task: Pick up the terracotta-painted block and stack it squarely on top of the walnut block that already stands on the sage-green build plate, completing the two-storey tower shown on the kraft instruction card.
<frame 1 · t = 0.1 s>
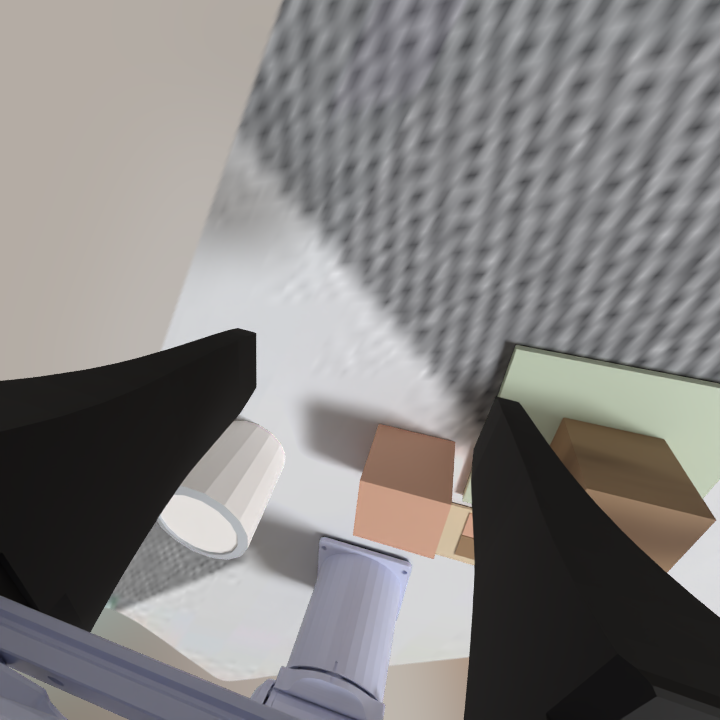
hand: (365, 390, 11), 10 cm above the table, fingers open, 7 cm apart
white cup: (253, 447, 29), on the table
walnut block: (593, 460, 21), resting on build plate
terracotta block: (410, 459, 26), on the table
instruction card: (477, 538, 28), on the table
build plate: (591, 454, 22), on the table
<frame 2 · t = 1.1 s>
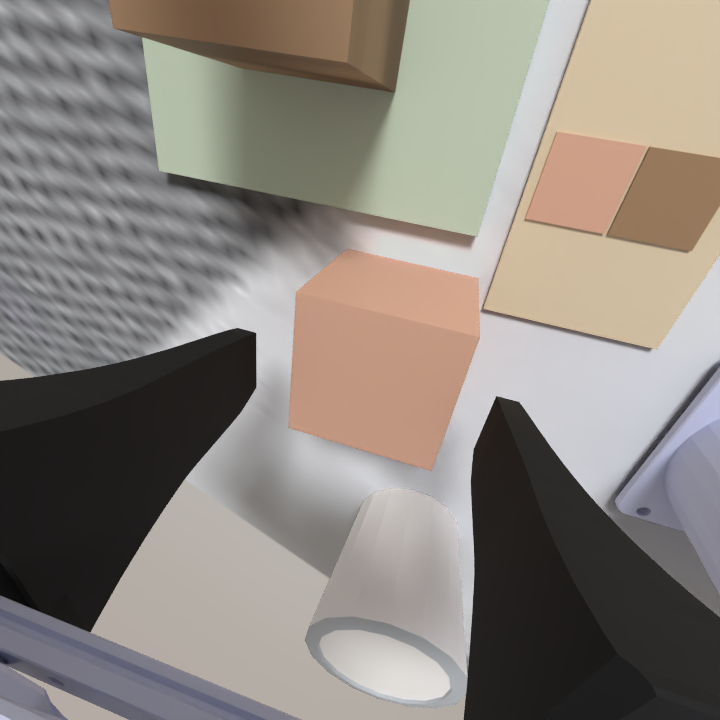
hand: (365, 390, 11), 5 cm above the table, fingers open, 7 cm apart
white cup: (408, 520, 21), on the table
terracotta block: (398, 321, 15), on the table
instruction card: (631, 193, 11), on the table
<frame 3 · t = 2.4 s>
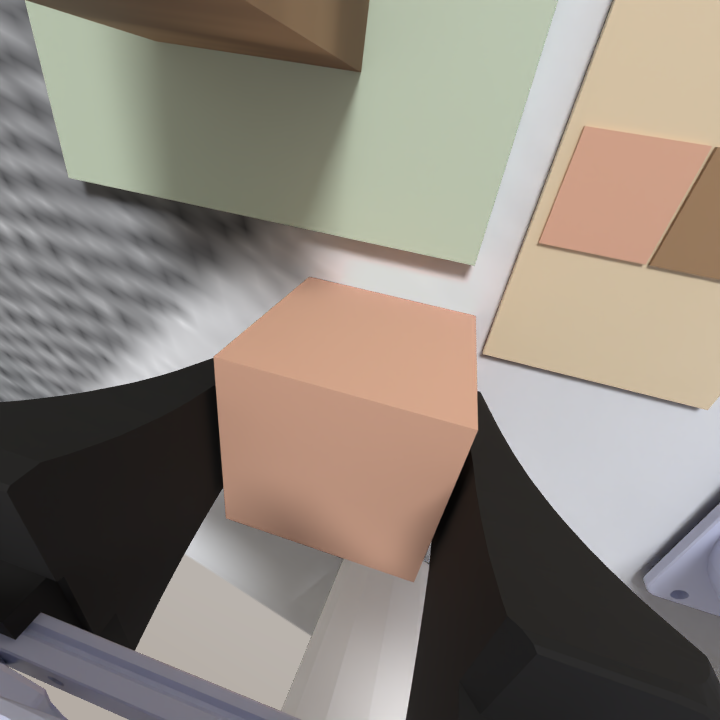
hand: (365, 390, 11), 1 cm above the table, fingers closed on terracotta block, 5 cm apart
white cup: (395, 581, 18), on the table
terracotta block: (375, 366, 12), on the table, touching gripper
instruction card: (684, 210, 8), on the table
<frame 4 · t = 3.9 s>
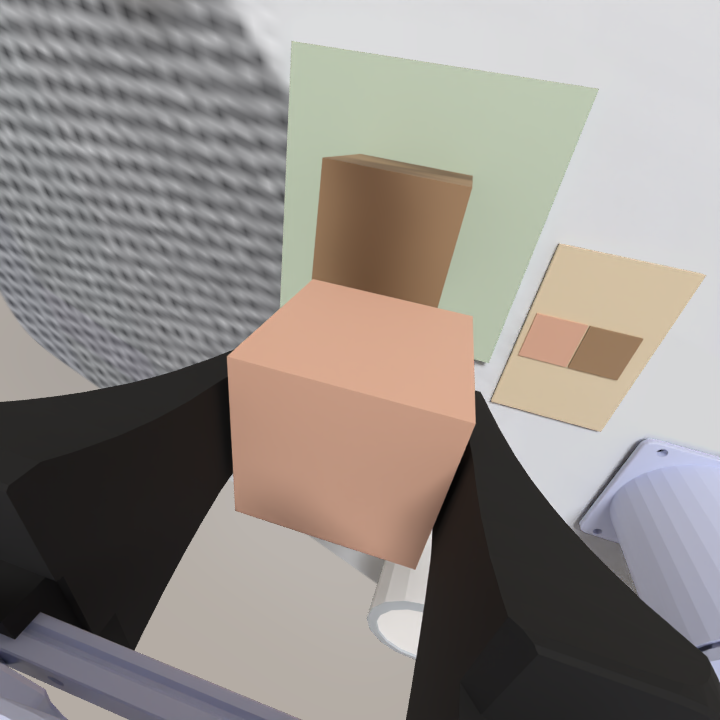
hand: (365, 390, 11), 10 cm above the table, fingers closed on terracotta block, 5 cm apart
white cup: (431, 533, 29), on the table
walnut block: (403, 223, 18), resting on build plate
terracotta block: (376, 365, 13), point 8 cm above the table, touching gripper
instruction card: (581, 346, 19), on the table
build plate: (404, 221, 18), on the table
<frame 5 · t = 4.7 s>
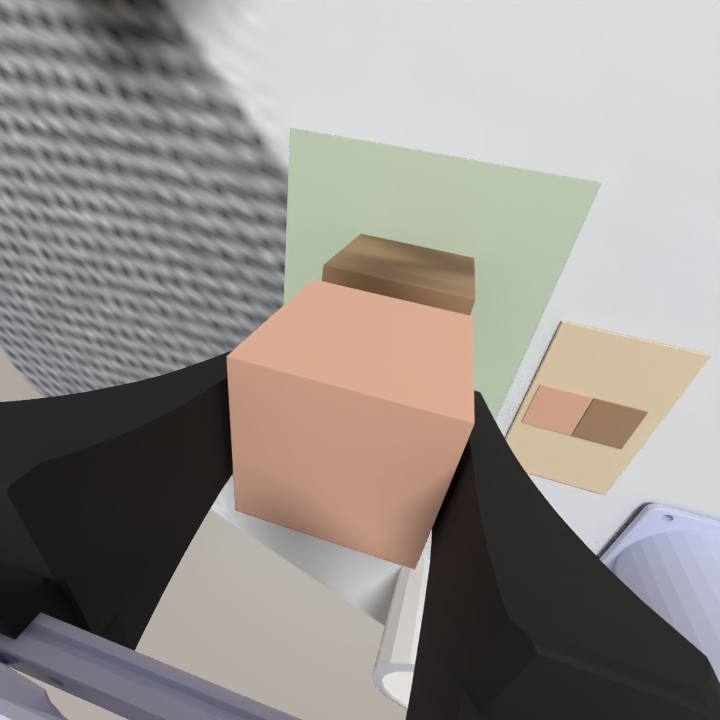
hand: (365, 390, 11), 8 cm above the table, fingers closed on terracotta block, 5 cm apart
white cup: (435, 580, 29), on the table
walnut block: (404, 298, 17), resting on build plate
terracotta block: (377, 365, 13), point 6 cm above the table, touching gripper
instruction card: (585, 415, 19), on the table
build plate: (406, 295, 18), on the table
when the fingers open (8 cm above the table, at t = 5.4 s): terracotta block stays where it is, resting on walnut block.
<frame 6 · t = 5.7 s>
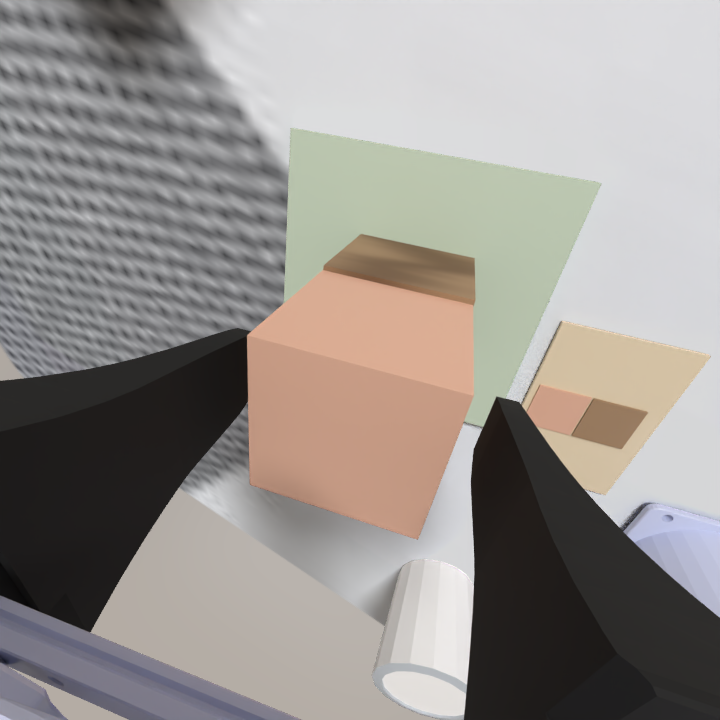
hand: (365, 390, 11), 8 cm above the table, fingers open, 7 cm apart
white cup: (435, 580, 29), on the table
walnut block: (404, 299, 17), resting on build plate, touching terracotta block
terracotta block: (382, 352, 13), point 5 cm above the table, touching walnut block
instruction card: (585, 415, 19), on the table
build plate: (406, 295, 18), on the table
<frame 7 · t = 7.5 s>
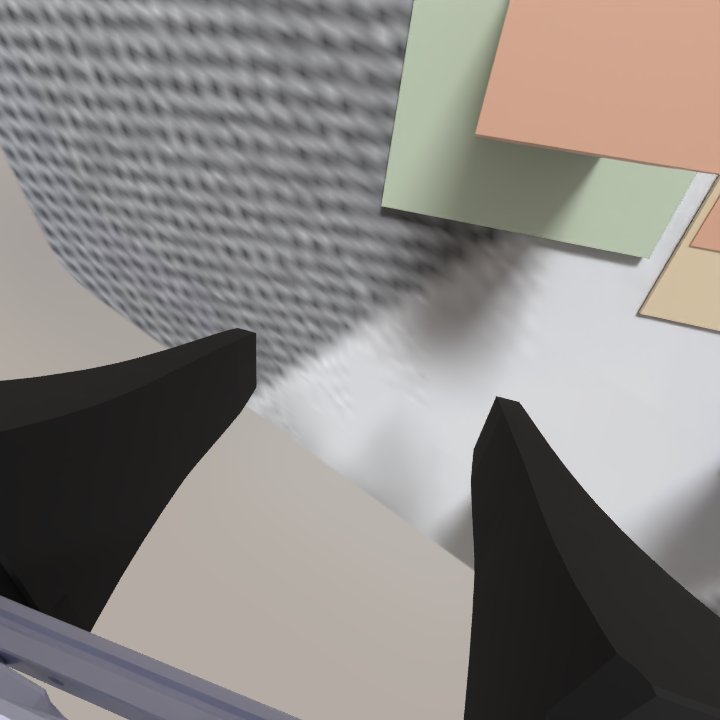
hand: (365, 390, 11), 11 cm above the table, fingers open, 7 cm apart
terracotta block: (599, 42, 10), point 5 cm above the table, touching walnut block
build plate: (561, 68, 14), on the table
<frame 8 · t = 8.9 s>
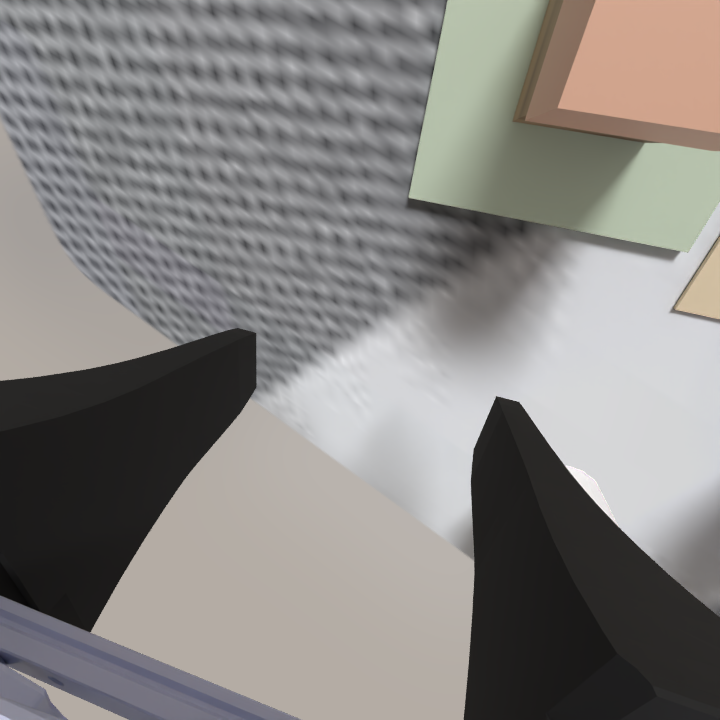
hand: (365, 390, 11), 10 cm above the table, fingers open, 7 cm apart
white cup: (551, 493, 25), on the table
walnut block: (608, 50, 13), resting on build plate, touching terracotta block
terracotta block: (666, 18, 9), point 5 cm above the table, touching walnut block
build plate: (604, 53, 14), on the table
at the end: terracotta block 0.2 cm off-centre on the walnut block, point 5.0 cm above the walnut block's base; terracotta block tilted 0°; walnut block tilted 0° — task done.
